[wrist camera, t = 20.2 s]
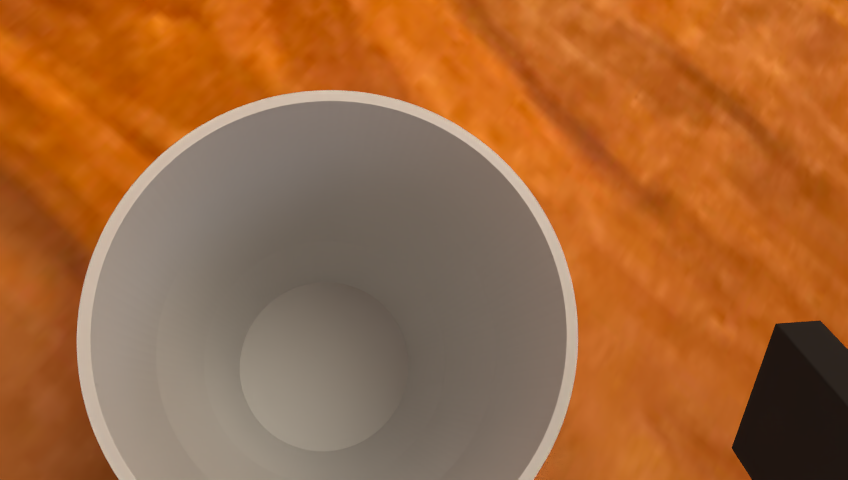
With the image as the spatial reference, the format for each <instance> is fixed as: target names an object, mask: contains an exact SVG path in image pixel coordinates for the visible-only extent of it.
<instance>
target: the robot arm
mask: <svg viewBox="0 0 848 480" xmlns="http://www.w3.org/2000/svg"><path fill="white" fill-rule="evenodd" d="M732 449H733V451H734V452H735V454H736V455H737V457H738V459H739V460H740V462H741V463H742V465H743V466H744V468H745V469H746V471H747V472H748V474H749V476H750V477H751V479H752V480H848V349H847V348H846V347H845V346H844V345H843V344H842V343H841V342H840V341H839V340H838V339H837V338H836V337H835V336H834V335H833V334H832V333H831V331H830V330H829V329H828V328H827V327H826V326H825V325H824V324H823V323H822V322H821V321H809V322H794V323H780V324H776V325H775V328H774V330H773V333H772V336H771V339H770V342H769V344H768V347H767V350H766V353H765V356H764V359H763V361H762V364H761V367H760V370H759V373H758V375H757V378H756V381H755V384H754V387H753V389H752V392H751V395H750V398H749V401H748V404H747V406H746V409H745V412H744V415H743V418H742V420H741V423H740V426H739V429H738V432H737V435H736V437H735V440H734V443H733V446H732Z"/></svg>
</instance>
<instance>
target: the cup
mask: <svg viewBox="0 0 848 480" xmlns="http://www.w3.org/2000/svg"><path fill="white" fill-rule="evenodd" d="M577 353H578V320H577V309H576V302H575V295H574V290H573V285H572V281H571V276H570V273H569V269H568V266H567V262H566V259H565V256H564V253H563V251H562V248H561V246H560V243H559V241H558V238H557V236H556V234H555V232H554V230H553V228H552V226H551V224H550V222H549V220H548V218H547V216H546V215H545V213H544V211H543V209H542V208H541V206H540V205H539V203H538V202H537V200H536V199H535V197H534V196H533V194H532V193H531V191H530V190H529V189H528V188H527V186H526V185H525V184H524V182H523V181H522V180H521V179H520V178H519V176H518V175H517V174H516V173H515V172H514V171H513V170H512V169H511V168H510V166H509V165H508V164H507V163H506V162H505V161H504V160H503V159H501V158H500V157H499V156H498V155H497V154H496V153H495V152H494V151H493V150H491V149H490V148H489V147H488V146H487V145H485V144H484V143H483V142H481V141H480V140H479V139H478V138H476V137H475V136H473V135H472V134H470V133H469V132H468V131H466V130H464V129H463V128H461V127H460V126H458V125H456V124H454V123H453V122H451V121H449V120H447V119H445V118H443V117H441V116H439V115H437V114H435V113H433V112H431V111H428V110H426V109H424V108H421V107H419V106H416V105H413V104H410V103H407V102H404V101H401V100H397V99H393V98H389V97H385V96H380V95H375V94H369V93H363V92H354V91H340V90H322V91H305V92H297V93H290V94H284V95H279V96H275V97H270V98H266V99H263V100H259V101H256V102H253V103H249V104H247V105H244V106H241V107H238V108H236V109H233V110H231V111H229V112H226V113H224V114H222V115H220V116H218V117H216V118H214V119H212V120H210V121H208V122H206V123H205V124H203V125H201V126H200V127H198V128H196V129H195V130H193V131H192V132H190V133H189V134H187V135H185V136H184V137H183V138H181V139H180V140H179V141H177V142H176V143H175V144H173V145H172V146H171V147H170V148H168V149H167V150H166V151H165V152H164V153H163V154H161V155H160V156H159V157H158V158H157V159H156V160H155V161H154V162H153V163H152V164H151V165H150V166H149V167H148V168H147V169H146V170H145V171H144V172H143V173H142V174H141V175H140V176H139V178H138V179H137V180H136V181H135V182H134V184H133V185H132V186H131V187H130V189H129V190H128V191H127V193H126V194H125V195H124V197H123V198H122V200H121V201H120V202H119V204H118V205H117V207H116V209H115V210H114V212H113V213H112V215H111V217H110V219H109V220H108V222H107V224H106V226H105V228H104V230H103V232H102V234H101V236H100V238H99V240H98V243H97V245H96V247H95V250H94V252H93V255H92V258H91V260H90V264H89V267H88V270H87V273H86V277H85V281H84V285H83V289H82V294H81V299H80V306H79V313H78V323H77V361H78V370H79V378H80V384H81V390H82V394H83V399H84V403H85V407H86V410H87V414H88V417H89V420H90V423H91V426H92V428H93V431H94V434H95V436H96V438H97V441H98V443H99V445H100V447H101V449H102V451H103V453H104V455H105V457H106V459H107V461H108V463H109V464H110V466H111V468H112V470H113V471H114V473H115V474H116V476H117V477H118V479H119V480H533V479H534V478H535V476H536V475H537V473H538V472H539V470H540V469H541V467H542V465H543V463H544V462H545V460H546V458H547V456H548V455H549V453H550V451H551V449H552V447H553V445H554V443H555V440H556V438H557V436H558V434H559V431H560V429H561V426H562V424H563V421H564V418H565V415H566V412H567V408H568V405H569V402H570V398H571V393H572V389H573V384H574V379H575V372H576V365H577Z"/></svg>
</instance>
